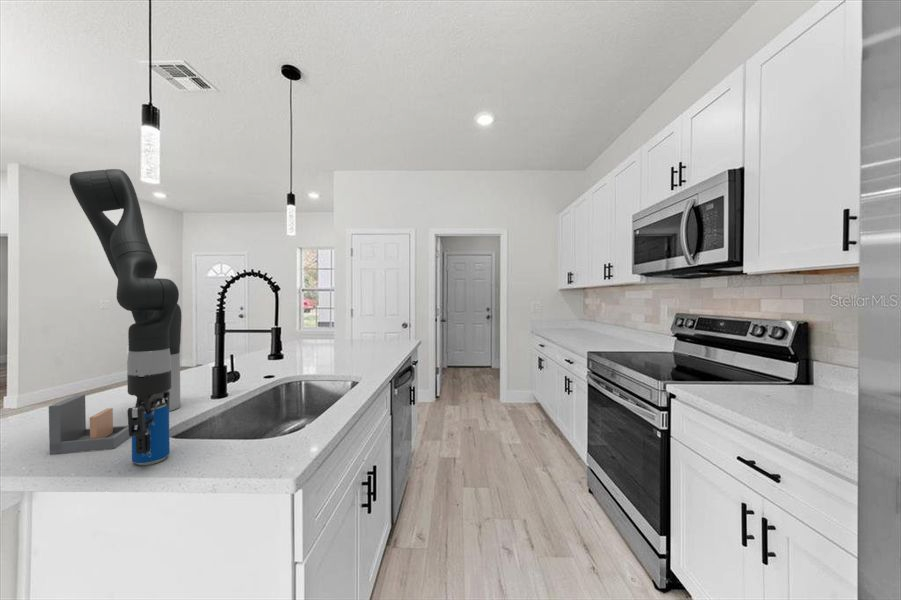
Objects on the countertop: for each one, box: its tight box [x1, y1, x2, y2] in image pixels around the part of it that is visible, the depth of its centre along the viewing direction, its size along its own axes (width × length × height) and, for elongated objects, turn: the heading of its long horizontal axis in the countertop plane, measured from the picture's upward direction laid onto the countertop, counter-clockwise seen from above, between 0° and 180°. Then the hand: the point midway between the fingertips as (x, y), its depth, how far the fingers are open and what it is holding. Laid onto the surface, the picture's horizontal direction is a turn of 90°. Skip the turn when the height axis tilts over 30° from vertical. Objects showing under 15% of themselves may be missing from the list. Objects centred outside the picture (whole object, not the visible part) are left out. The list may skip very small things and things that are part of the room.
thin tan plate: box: [89, 407, 114, 439], centre depth 93 cm, size 1×7×6 cm, turn 17°
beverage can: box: [131, 403, 170, 466], centre depth 84 cm, size 6×6×12 cm
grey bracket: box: [48, 394, 132, 455], centre depth 92 cm, size 12×9×11 cm
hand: (150, 446), depth 84 cm, fingers closed on beverage can, 6 cm apart
